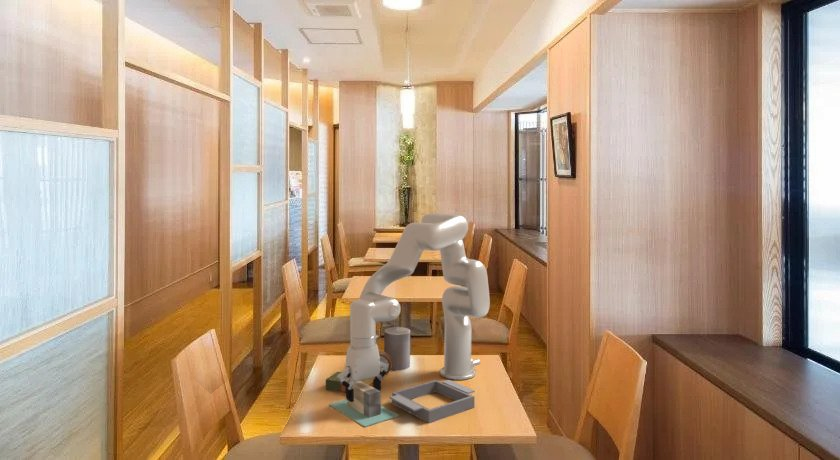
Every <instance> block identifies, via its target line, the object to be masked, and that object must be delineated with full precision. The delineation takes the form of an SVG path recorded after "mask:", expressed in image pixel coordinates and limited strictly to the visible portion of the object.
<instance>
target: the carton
mask: <svg viewBox="0 0 840 460" xmlns="http://www.w3.org/2000/svg"><path fill="white" fill-rule="evenodd" d="M341 372H342V371H336V372H335V373H333V374H332V375H330V376H329V377H327V378H325V390H326V391H331V392H337V393H343V394H344V393H345V394H346V388H345V387H344V386H343V385H342V384H341V383H340V381H339V379H338V377H337V376H338V375H339V374H340V373H341ZM344 379H345V381H346V380H347V378H346V376H345V378H344ZM374 379H375V377H372V378H369V379H365V380H361V381H362V382H363V383H365V384H367V385H369V386H371V387H373V380H374Z"/></svg>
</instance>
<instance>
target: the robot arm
mask: <svg viewBox="0 0 840 460" xmlns="http://www.w3.org/2000/svg"><path fill="white" fill-rule="evenodd" d="M468 231H469V223H468V220H467V219H466V218H465V216H463V215H460V214H454V213H441V212H439V213H437V212H430V213H426V214H425V215H423V216H422V218H421V221H420V222H418V221H417V222H410V223H408V224H407V225H406V226H405V228H404V229H403V231H402V232H401V233H402V234H401V235H400V237H399V239H398V241H397V244H396V246H395V248H394V249H393V252H392V253H391V255H390V258H389V260H388V261H387V262H386V263H385V264H384V265H382V266H381V267H379V269H377V270H376V272H374V273H372V275H370V277H369V278H368V280H367V281H366V283H365V284H364V286H363V289H362V291H361V293H360V295H359V298H358V299H355V300H353V301H351V303H350V305H349V307H350V308H349V317H350V318H349V319H350V320H349V322H350V323H349V324H350V325H349V326H350V327H349V330H350V331H349V335H350V345H349V346H347V351H346V355H345V364H344V365H345V369H343V371H340V372H341V373H340V374H339V375H338V376H337V377H338V379H339V381H340V383H341V384H342V385H343V386H344V387H345V388H346V393H345V399H347V400H348V401H350V402H353V401H354V389H352V387H353V385H354V384H355V382H357V381H361V380H365V379H369V378H372V377H375V379H374V380H373V388H375V389H377V390H379V391H381V392H382V382H383V380H384V377H385V376H386V375H387V374H386V370H387V367H388V364H386V363H384V362H381V361H380V356H379V351H380V350H379V346H378V344H377V340H378V339H379V338H380V337H379V334H377V332H376V331H377V330H376V329H377V327H376V326H377V325H376V324H378V323H389V322H392V321H395V320H396V319H397V318H399V316H400V314H401V308H402V307H401V304H400V302H399V301H398V300H397V299H395V298H393V297H391V296H387V295H382V294H383V291H384V290H385V289H386V288H387V287H388V286H389V285H391V284H393V283H394V282H396V281H399V280H401V279H404V278H407V277H409V276H411V275H412V274H413V273H414V272H415V269H416V268H417V266H418V263H419V260H420V259H421V257H422V255H423V252H424V251H433V252H435V251H439V252H440V261H441V268H442V274H443V279H444V281H445V282H447V283H448V284H451V285H452V286H450V287H447V288H446V289H445V290H444V292H443V293H442V297H441V305H442V311H443V314H444V315H443V316H444V346H443V347H444V350H443V351H444V357H443V358H444V360H443V363H444V364H443V365H444V366H443V367H441V368H440V370H439V375H440V376H441V377H443V378H445V379H447V380H453V381H454V380H456V381H457V380H459V381H461V380H462V381H463V380H469V379H471V378H474V376H476V370H475V369H474V367H475V366H479V365H480V364H481V360H480V359H475V360H473V358H472V322H471V319H470V318H474V319H475V318H477V319H481V318H484V317H485V316H486V315H488V313H489V310H490V306H491V305H490V304H491V302H490V301H491V299H490V298H491V297H490V288H489V287H490V286H489V279H488V277H489V276H488V271H487V268H486V266H485V265H484V264H483V263H482V262H481V261H479V260H477V259H473V258H468V257H467V255H466V250H465V245H464V241H463V239H464V238H465V237H466V236H467V234H468ZM453 285H454V286H453ZM380 366H382V368H381V370H380ZM385 374H386V375H385ZM345 376H346V378H347V380H346V381H345V379H344V378H345ZM349 383H350V384H349Z"/></svg>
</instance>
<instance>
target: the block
mask: <svg viewBox="0 0 840 460" xmlns="http://www.w3.org/2000/svg"><path fill="white" fill-rule="evenodd" d="M349 384H350V383H349ZM352 389H354V401H353V402H350V401H348V400H347V403H348V405H349V406H350V407H352V408H354V409H355V410H357V411H359V412H361V413H362V414H364V415H366V416H367V417H369V418H370V417H374V416H377V415H380V414H381V406H382V403H381V402H382V401H381V400H382V390H381V391H379V390H377V389H375V388H373V387H371V386H369V385H367V384H365V383H363V382H362V381H357V382H355V384H354V385H353V387H352Z"/></svg>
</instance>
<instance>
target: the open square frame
mask: <svg viewBox="0 0 840 460" xmlns="http://www.w3.org/2000/svg"><path fill="white" fill-rule="evenodd" d="M433 393H438V394H440V395H442V396H444V397H446V398H449V399H451V400H453V401H451V402H448V403H445V404H442V405H438V406H435V407H432V408H428V407H426V406H424V405H422V404H420V403H418V402H416V401H414V399H417V398H420V397H423V396H426V395H430V394H433ZM473 393H475V390H474V389H472V388H469V387H467V386H464V385H463V384H461V383H457V382H455V381H454V380H453V381H452V379H446V380H444V381H439V380H437V379H434V380H431V381H428V382H424V383H422V384H421V383H420V384H416V385H413V386H410V387H407V388H403V389H399V390H396V391H393V392H391V396H390V397H389V399H390V400H391V404H392V405H394V406H396V407H398V408H399V409H401V410H404V411H405V412H408V413H410V414H411V415H413V416H414V417H417V418H419V419H420V420H423V421H424V422H426V423H428V424H431V423H434V422H436V421H440V420H441V419H445V418H448V417H451V416H453V415H456V414H459V413H462V412H465V411H468V410H471V409H473V408H475V396H474V395H472V394H473Z"/></svg>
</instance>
